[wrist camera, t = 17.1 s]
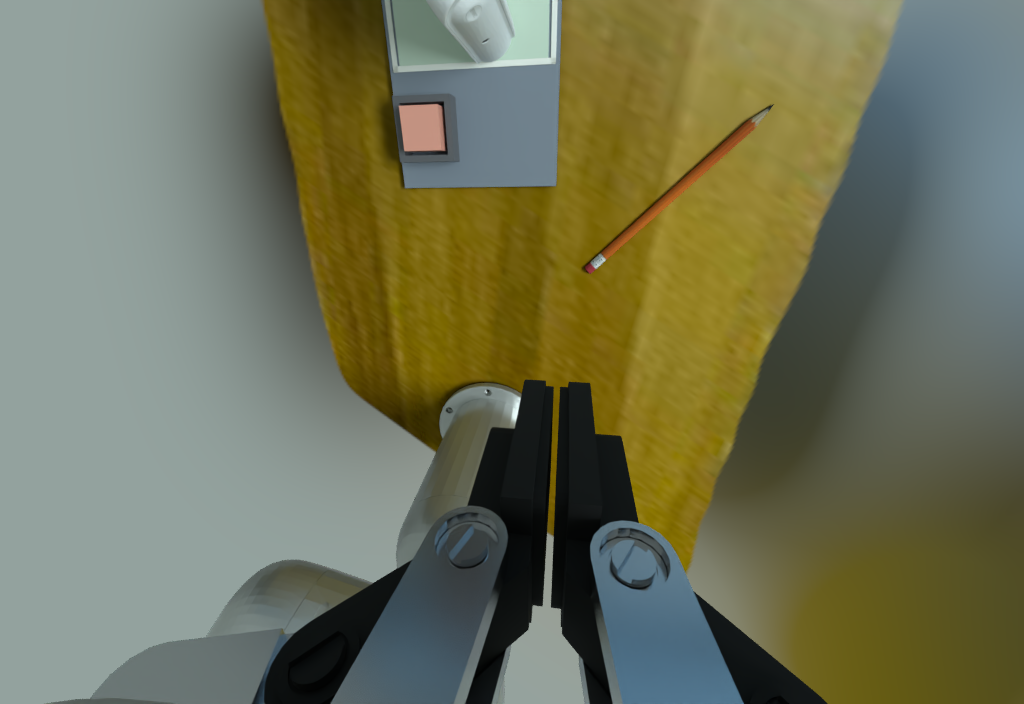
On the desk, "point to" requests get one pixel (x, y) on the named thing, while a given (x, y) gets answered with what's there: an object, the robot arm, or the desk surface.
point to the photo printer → (477, 26)
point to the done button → (423, 128)
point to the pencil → (678, 189)
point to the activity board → (479, 97)
